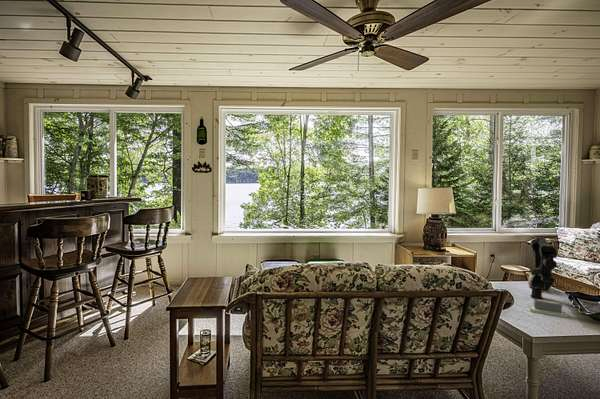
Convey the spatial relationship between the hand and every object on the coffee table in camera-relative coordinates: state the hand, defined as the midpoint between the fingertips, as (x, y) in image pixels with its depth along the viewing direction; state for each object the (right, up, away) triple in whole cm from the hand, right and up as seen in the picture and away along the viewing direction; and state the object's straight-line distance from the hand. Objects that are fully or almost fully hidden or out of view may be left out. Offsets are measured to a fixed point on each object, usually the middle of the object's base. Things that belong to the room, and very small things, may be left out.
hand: (544, 288), depth 207 cm
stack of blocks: (+26, -11, +40) cm, 49 cm away
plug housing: (-5, -11, -8) cm, 14 cm away
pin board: (-5, -12, -8) cm, 15 cm away
